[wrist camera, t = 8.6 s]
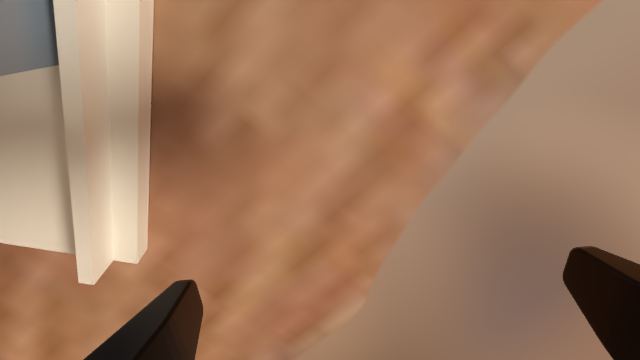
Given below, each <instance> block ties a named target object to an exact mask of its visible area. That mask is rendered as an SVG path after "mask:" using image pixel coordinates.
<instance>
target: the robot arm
mask: <svg viewBox="0 0 640 360" xmlns="http://www.w3.org/2000/svg"><path fill="white" fill-rule="evenodd" d="M563 281H564V283H565V285H566V287H567V289H568V290H569V292H570V293H571V295H572V297H573V298H574V299H575V301H576V303H577V305H578V306H579V308H580V310H581V311H582V313H583V314H584V316H585V317H586V319H587V321H588V322H589V324H590V326H591V327H592V329H593V330H594V332H595V334H596V335H597V337H598V338H599V340H600V341H601V343H602V344H603V346H604V347H605V349H606V350H607V351H608V353H609V354H610V356H611V357H612V358H613V360H640V264H637V263H634V262H632V261H629V260H627V259H624V258H622V257H619V256H617V255H614V254H611V253H609V252H606V251H604V250H601V249H599V248H596V247H592V246H586V247H576V248H573V249H572V250H571V251H570V253H569V256H568V259H567V262H566V265H565V268H564V272H563ZM202 317H203V304H202V301H201V298H200V294H199V291H198V288H197V285H196V283H195V281H194V280H180V281H176V282H174V283H173V284H172V285H170V286H169V287H168V288H167V289H166V290H165V291H163V292H162V293H161V294H160V295H159V296H158V297H156V298H155V299H154V300H153V301H152V302H150V303H149V304H148V305H147V306H146V307H145V308H143V309H142V310H141V311H140V312H139V313H138V314H136V315H135V316H134V317H133V318H132V319H131V320H129V321H128V322H127V323H126V324H125V325H124V326H122V327H121V328H120V329H119V330H118V331H116V332H115V333H114V334H113V335H112V336H111V337H109V338H108V339H107V340H106V341H105V342H104V343H102V344H101V345H100V346H99V347H98V348H97V349H95V350H94V351H93V352H92V353H91V354H90V355H88V356H87V357H86V358H85V359H84V360H195V354H196V349H197V344H198V338H199V333H200V327H201V322H202Z"/></svg>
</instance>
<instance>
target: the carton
mask: <svg viewBox="0 0 640 360" xmlns="http://www.w3.org/2000/svg"><path fill="white" fill-rule="evenodd" d="M56 65H59V60H58V49H57V38H56V27H55V16H54V5H53V0H0V76H4V75H9V74H14V73H19V72H25V71H30V70H35V69H40V68H46V67H51V66H56Z"/></svg>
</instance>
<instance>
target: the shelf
mask: <svg viewBox="0 0 640 360" xmlns="http://www.w3.org/2000/svg"><path fill="white" fill-rule="evenodd" d="M53 5H54V16H55V27H56V38H57V49H58V60H59V65H56V66H51V67H46V68H40V69H35V70H30V71H25V72H19V73H14V74H9V75H4V76H0V243H6V244H12V245H18V246H25V247H31V248H38V249H44V250H51V251H57V252H64V253H70V254H76V259H77V270H78V281H79V283H84V284H91V285H94V284H95V283H96V282H97V280H98V279H99V278H100V276H101V275H102V274H103V273H104V271H105V270H106V269H107V268H108V266H109V265H110V264H111V263H112V261H113V260H115V261H122V262H128V263H135V264H137V263H138V262H139V260H140V259H141V257H142V256H143V254H144V253H145V251H146V250H147V242H148V204H149V166H150V128H151V90H152V52H153V15H154V0H53Z"/></svg>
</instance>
